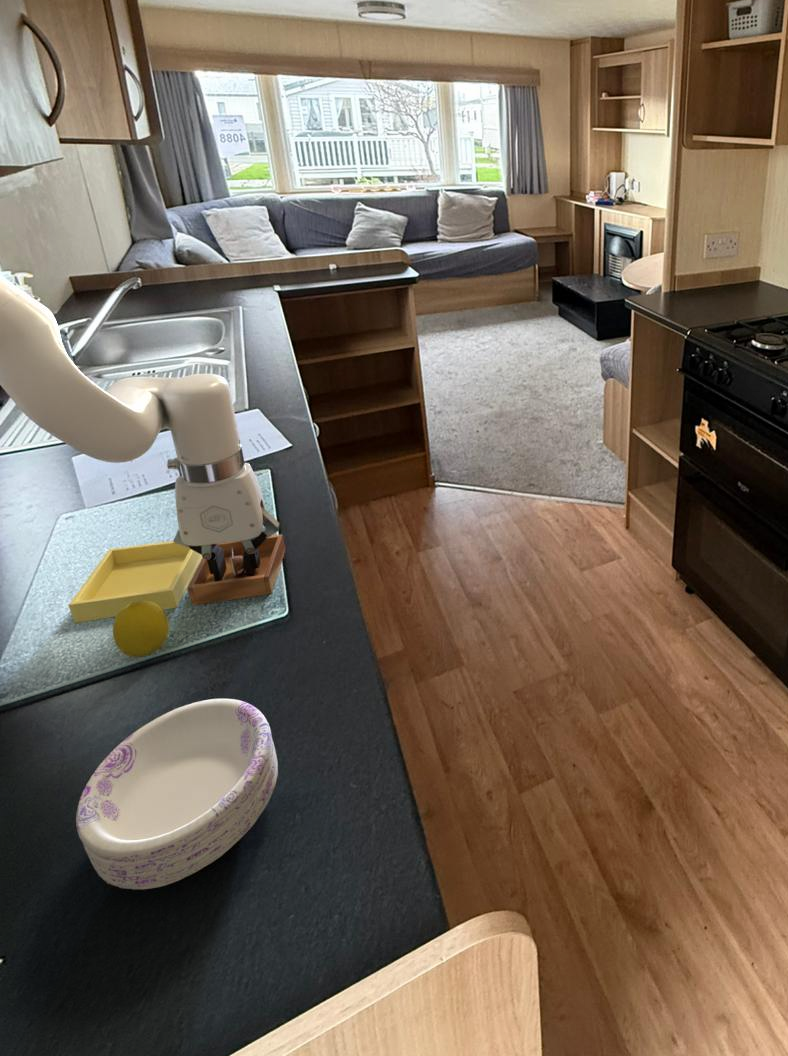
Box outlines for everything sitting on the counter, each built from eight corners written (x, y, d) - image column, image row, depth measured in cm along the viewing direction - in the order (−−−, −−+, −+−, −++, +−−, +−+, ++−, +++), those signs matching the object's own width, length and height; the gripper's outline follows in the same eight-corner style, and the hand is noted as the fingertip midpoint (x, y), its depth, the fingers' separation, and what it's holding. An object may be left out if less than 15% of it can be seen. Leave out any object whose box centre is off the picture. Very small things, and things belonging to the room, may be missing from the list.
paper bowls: (99, 803, 64) (76, 745, 61) (268, 726, 72) (255, 671, 69) (97, 957, 52) (69, 894, 49) (299, 844, 60) (284, 784, 57)
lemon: (158, 632, 85) (142, 582, 82) (184, 646, 83) (170, 596, 80) (112, 661, 80) (95, 610, 77) (140, 678, 78) (122, 625, 75)
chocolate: (250, 576, 94) (244, 554, 93) (232, 581, 93) (227, 559, 92) (248, 565, 97) (243, 542, 95) (232, 570, 96) (226, 547, 94)
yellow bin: (74, 623, 86) (68, 605, 85) (114, 565, 97) (109, 548, 96) (177, 607, 89) (172, 590, 88) (204, 553, 100) (200, 537, 99)
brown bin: (191, 605, 89) (186, 588, 88) (213, 559, 99) (209, 543, 98) (271, 593, 92) (268, 576, 91) (285, 550, 101) (282, 533, 100)
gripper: (132, 484, 83) (163, 599, 90) (272, 470, 87) (293, 582, 93) (154, 456, 90) (182, 565, 96) (283, 445, 94) (302, 550, 100)
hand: (236, 572), depth 95 cm, fingers open, 3 cm apart
